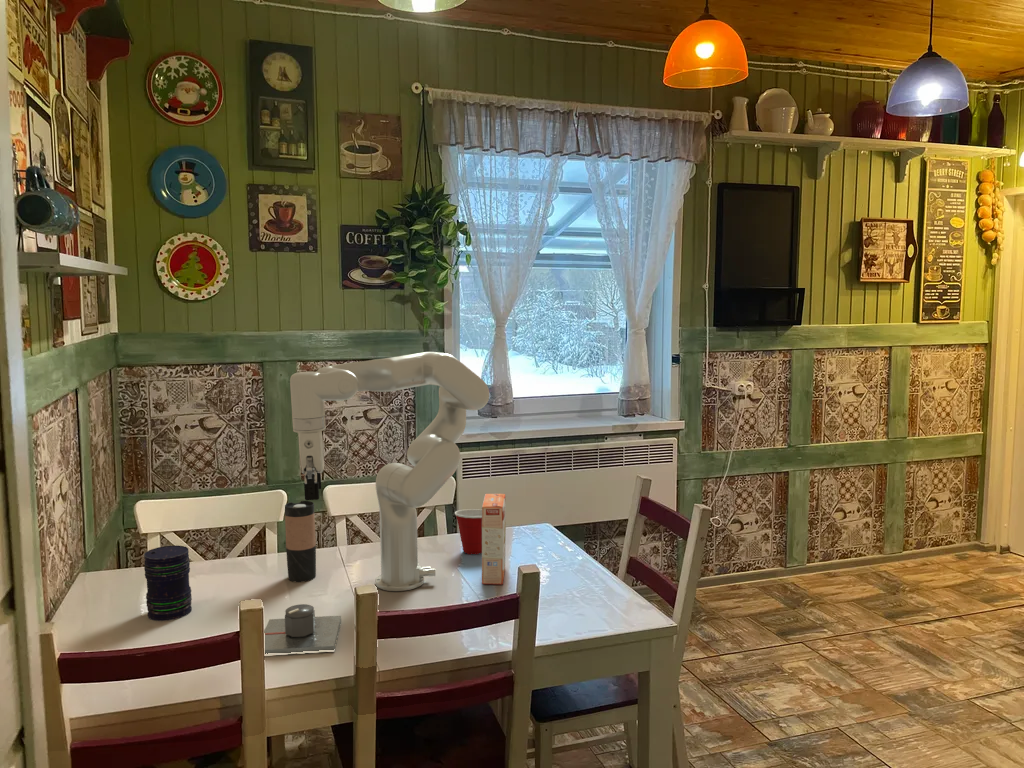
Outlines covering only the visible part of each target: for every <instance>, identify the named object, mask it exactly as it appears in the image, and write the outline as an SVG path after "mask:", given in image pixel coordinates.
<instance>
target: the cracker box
mask: <svg viewBox="0 0 1024 768" xmlns="http://www.w3.org/2000/svg"><path fill="white" fill-rule="evenodd" d="M481 510H482V553H481V585H503V584H504V577H505V570H506V535H507V534H506V528H507V527H506V526H507V525H506V524H507V523H506V520H507V519H506V518H507V517H506V514H507V513H506V494H505V493H485V494H484V497H483V502H482V506H481Z"/></svg>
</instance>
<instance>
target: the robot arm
mask: <svg viewBox="0 0 1024 768" xmlns="http://www.w3.org/2000/svg"><path fill="white" fill-rule="evenodd" d="M289 384H290V401H291V403H290V404H291V416H292V417H291V418H292V431H293V432H294V433H297V434H298V445H299V446H298V448H299V459H300V468H301V469H300V470H301V473H302V474H303V475H304V483H303V488H304V489H303V490H304V499H305V500H304V501H316V500H317V501H318V500H319V499H320V490H321V489H322V476H321V475H322V473H323V472H324V469H325V455H324V453H325V452H324V440H323V438H324V437H323V432H324V431H325V430H327V428H326V425H327V424H326V411H325V410H326V408H325V401H337V402H340V401H341V402H342V401H343V402H344V401H347V400H350V399H352V398H353V397H354V396H355V395H356V394H357V392H366V391H367V392H380V393H381V392H382V393H385V392H386V393H387V392H396V391H402V390H406V389H410V388H411V389H412V388H417V387H422V386H428V385H429V386H430V385H432V386H438V387H439V388H438V400H439V405H438V411H437V413H436V416H435V418H433V420H432V421H431V422H430V423H429V424H428V426H427V427H425V429H424V430H423V431H422V432H420V434H419V435H418V436H417V437H416V438H415V439H414V440H413V441H412V442H411V444H410V445H409V447H408V448H407V451H406V458H407V460H408V462H409V464H410V465H412V466H413V467H412V466H409V465H407V464H404V463H399V462H391V463H388V464H385V465H384V466H382V467H381V469H379V471H378V472H377V475H376V478H375V491H376V497H377V501H378V509H379V535H380V536H379V538H380V539H379V541H380V543H379V545H380V571H381V572H380V574H379V575H378V576H377V577H376V578H375V586H376V587H377V589H381V590H383V591H388V592H403V591H411V590H414V589H418V588H419V587H421V586H422V585H423V584H424V583H425V577H436V568H431V566H422V565H420V561H419V558H418V555H419V554H418V549H419V548H418V513H417V508H419V507H422V506H424V505H425V504H427V503H429V501H430V500H432V499H433V497H434V496H436V494H437V493H438V492H439V491H440V490H441V488H442V487H444V485H445V484H446V483H447V482H448V481H449V479H451V478H452V476H453V475H454V474H455V472H456V471H457V469H458V467H459V465H460V461H461V451H460V448H459V447H458V445H457V442H458V440H459V439H460V438H461V437H462V435H463V433H464V432H465V428H466V425H467V410H468V411H473V412H474V411H479V410H481V409H482V408H483V409H484V407H485V406H486V405H487V404H488V402H489V400H490V390H489V387H488V385H487V383H486V382H485V380H483V379H482V378H481V377H480V376H479V375H477V374H476V373H475V372H473V371H472V370H471V369H470V368H469V367H467V366H466V365H465V364H464V363H463V362H461V361H460V360H459V359H457V358H456V357H455V356H453V355H452V354H449V353H446V352H445V353H444V352H436V351H424V352H417V353H412V354H411V353H410V354H403V355H398V356H392V357H386V358H376V359H369V360H363V361H353V362H348V363H347V362H345V363H340V364H334V365H328V366H323V367H320V368H319V369H318V370H316V371H300V372H295V373H293V374H292V375H290V378H289ZM322 431H323V432H322Z"/></svg>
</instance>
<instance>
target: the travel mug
mask: <svg viewBox="0 0 1024 768" xmlns="http://www.w3.org/2000/svg"><path fill="white" fill-rule="evenodd" d="M284 517H285V518H284V520H285V523H284V525H285V549H286V550H285V551H286V561H287V562H286V564H287V577H288V580H289V581H290V580H291V581H290V582H293V581H296V582H295V583H302V582H301V581H305V582H309V581H311V579H312V580H314V579H315V578H316V576H317V553H316V552H317V548H316V547H317V546H316V544H317V543H316V542H317V541H316V538H317V537H316V520H315V519H316V518H315V504H314V502H313V501H312V500H301V501H300V502H296V503H295V502H292V501H290V502H287V503H285V505H284ZM313 578H314V579H313ZM308 580H309V581H308Z"/></svg>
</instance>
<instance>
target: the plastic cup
mask: <svg viewBox="0 0 1024 768" xmlns="http://www.w3.org/2000/svg"><path fill="white" fill-rule="evenodd" d="M454 515H455V517H456V520H457V525H458V531H459V535H460V536H459V537H460V541H461V545H462V546H461V547H462V550H463V553H464V552H465V553H464V554H466V553H467V554H466V555H471V554H475V555H480V554H482V509H478V508H477V509H476V508H475V509H474V508H469V509H467V508H466V509H460V510H455V512H454ZM479 553H480V554H479Z"/></svg>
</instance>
